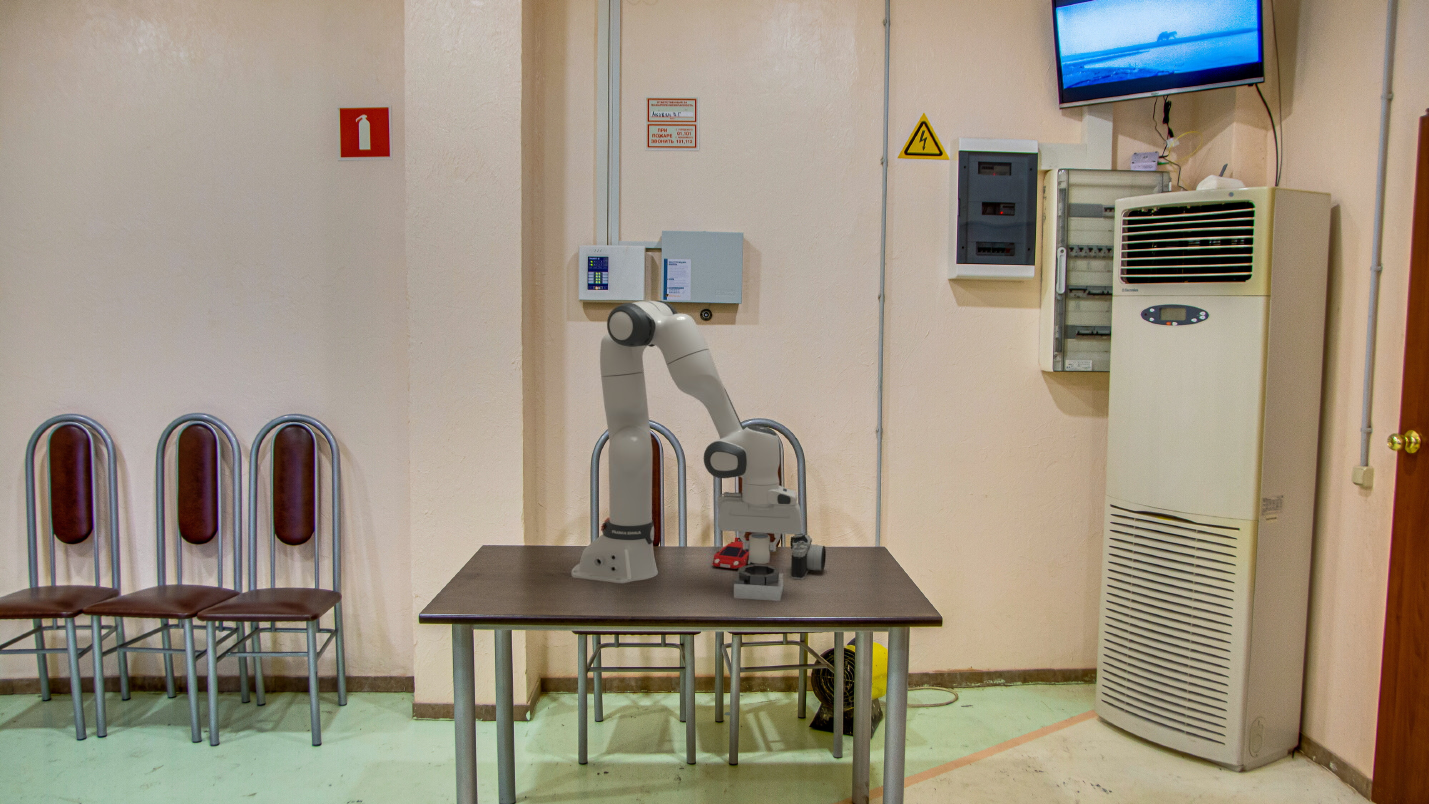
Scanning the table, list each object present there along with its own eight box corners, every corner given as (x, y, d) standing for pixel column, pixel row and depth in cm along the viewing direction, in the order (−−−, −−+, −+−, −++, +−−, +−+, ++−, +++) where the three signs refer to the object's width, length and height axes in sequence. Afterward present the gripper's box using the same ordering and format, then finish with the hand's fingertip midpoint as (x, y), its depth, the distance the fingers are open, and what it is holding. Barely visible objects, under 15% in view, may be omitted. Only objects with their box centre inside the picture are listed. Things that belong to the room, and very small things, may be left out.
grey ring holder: (733, 600, 186) (734, 575, 185) (739, 586, 196) (739, 562, 195) (780, 603, 184) (780, 578, 184) (783, 589, 194) (783, 565, 194)
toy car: (709, 569, 210) (709, 551, 210) (731, 549, 229) (731, 532, 229) (746, 573, 207) (747, 555, 206) (766, 553, 226) (766, 536, 225)
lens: (747, 563, 187) (748, 536, 187) (750, 556, 192) (750, 531, 191) (768, 564, 186) (769, 537, 186) (770, 558, 191) (770, 532, 191)
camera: (819, 582, 200) (820, 544, 199) (784, 579, 202) (785, 541, 201) (827, 564, 214) (828, 529, 213) (794, 561, 217) (795, 526, 216)
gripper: (715, 494, 186) (714, 551, 188) (802, 498, 183) (800, 556, 184) (719, 488, 192) (718, 543, 194) (803, 492, 189) (801, 548, 191)
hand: (759, 549), depth 189 cm, fingers closed on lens, 5 cm apart
